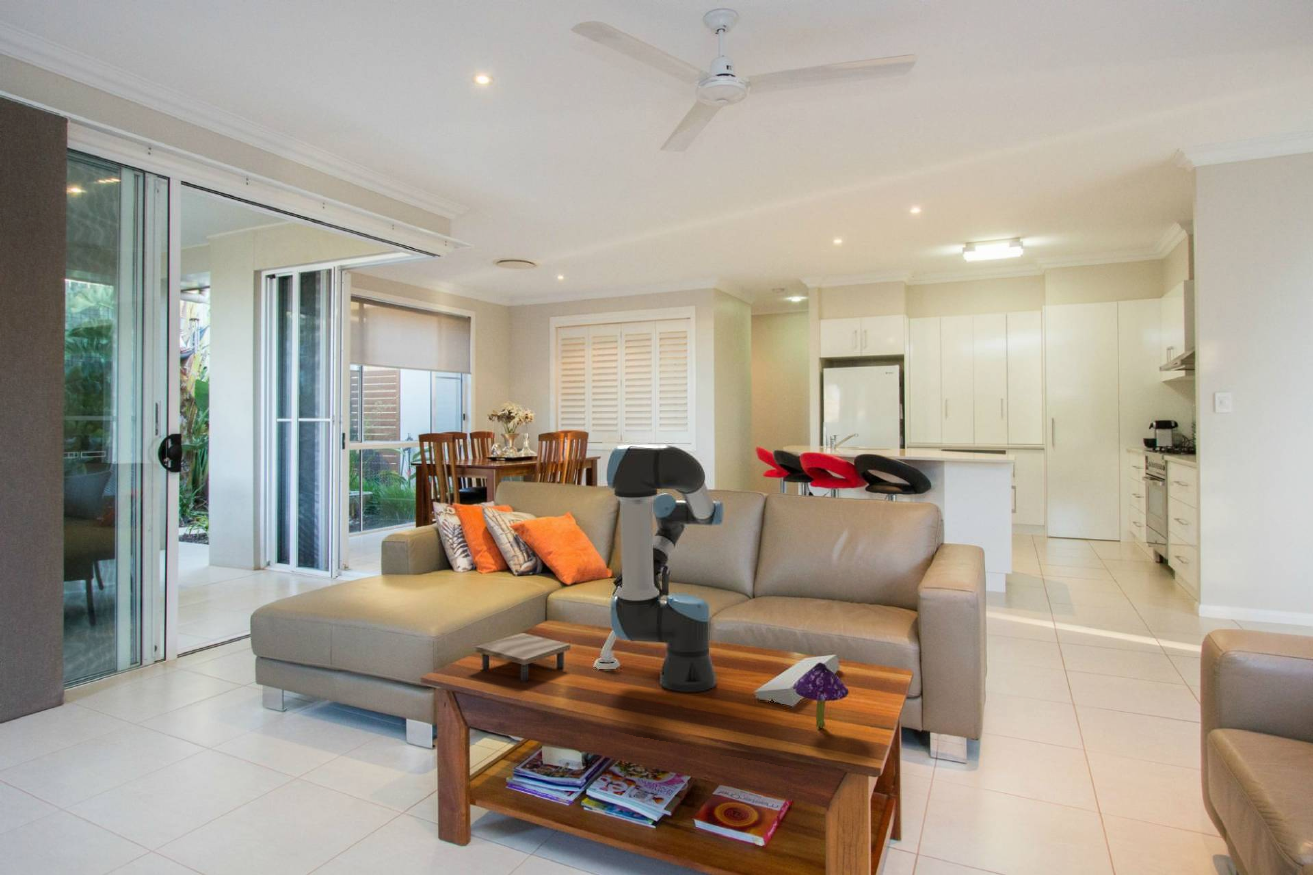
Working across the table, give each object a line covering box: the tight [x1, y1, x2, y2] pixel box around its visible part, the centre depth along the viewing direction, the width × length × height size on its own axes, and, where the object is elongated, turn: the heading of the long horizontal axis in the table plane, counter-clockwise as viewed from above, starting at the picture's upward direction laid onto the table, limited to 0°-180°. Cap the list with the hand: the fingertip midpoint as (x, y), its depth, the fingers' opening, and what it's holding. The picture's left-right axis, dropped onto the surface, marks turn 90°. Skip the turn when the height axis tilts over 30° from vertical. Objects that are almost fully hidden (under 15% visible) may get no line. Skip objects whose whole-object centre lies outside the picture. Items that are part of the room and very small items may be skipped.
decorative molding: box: [754, 654, 841, 707], centre depth 188 cm, size 34×5×10 cm
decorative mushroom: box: [793, 662, 850, 729], centre depth 159 cm, size 12×12×15 cm
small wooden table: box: [475, 632, 571, 682], centre depth 200 cm, size 20×18×6 cm
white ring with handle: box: [593, 629, 621, 670], centre depth 204 cm, size 8×12×7 cm
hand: (629, 609), depth 211 cm, fingers open, 13 cm apart
